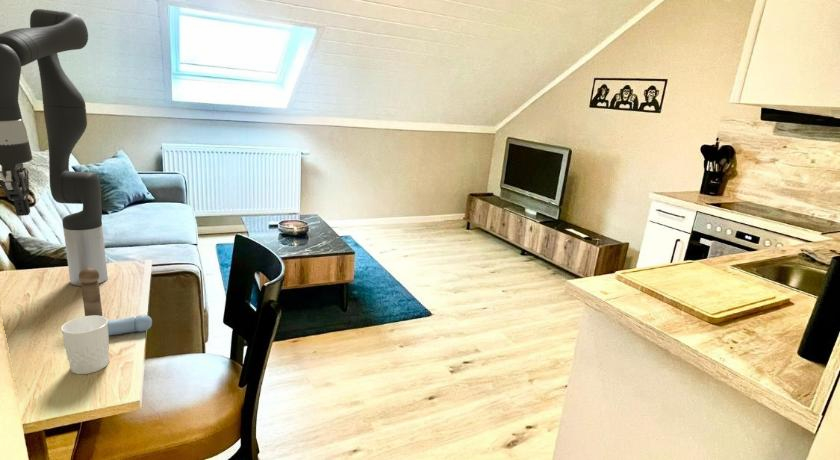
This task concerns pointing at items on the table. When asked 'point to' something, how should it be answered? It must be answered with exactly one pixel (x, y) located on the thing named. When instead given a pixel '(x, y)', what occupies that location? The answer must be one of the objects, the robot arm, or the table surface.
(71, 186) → the robot arm
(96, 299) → the walnut pin
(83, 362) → the white cup
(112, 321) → the blue pin
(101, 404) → the table surface
